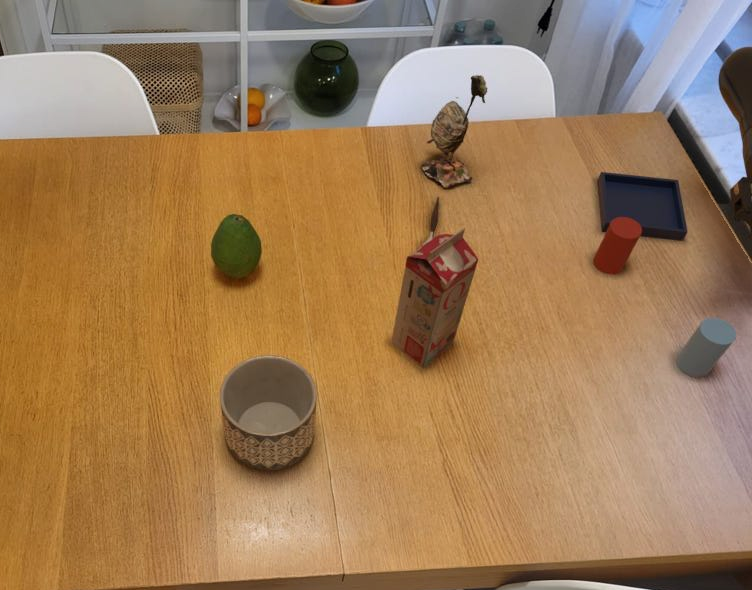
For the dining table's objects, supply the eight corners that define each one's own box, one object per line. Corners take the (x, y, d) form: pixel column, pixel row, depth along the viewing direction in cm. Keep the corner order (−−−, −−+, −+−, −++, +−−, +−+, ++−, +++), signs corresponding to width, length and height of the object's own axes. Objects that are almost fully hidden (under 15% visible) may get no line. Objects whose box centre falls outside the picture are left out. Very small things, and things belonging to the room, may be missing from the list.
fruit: (232, 246, 128) (228, 191, 118) (271, 265, 125) (270, 211, 115) (204, 275, 124) (197, 221, 114) (243, 296, 121) (239, 242, 111)
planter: (211, 415, 108) (205, 374, 100) (291, 385, 111) (292, 342, 103) (245, 488, 102) (241, 449, 93) (329, 454, 104) (333, 414, 96)
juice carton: (452, 344, 115) (483, 240, 97) (423, 368, 113) (449, 266, 94) (420, 319, 118) (444, 214, 100) (391, 342, 115) (410, 238, 97)
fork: (445, 200, 133) (447, 191, 132) (434, 264, 125) (436, 255, 123) (430, 197, 134) (432, 189, 132) (418, 261, 125) (420, 253, 123)
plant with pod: (453, 147, 142) (475, 47, 125) (475, 186, 135) (501, 87, 119) (412, 153, 141) (429, 54, 124) (432, 193, 134) (453, 94, 118)
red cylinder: (622, 254, 125) (640, 218, 119) (624, 275, 122) (643, 240, 116) (592, 251, 126) (609, 215, 119) (593, 272, 123) (611, 236, 116)
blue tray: (673, 188, 134) (678, 179, 132) (682, 240, 127) (687, 232, 125) (597, 180, 136) (600, 171, 134) (601, 231, 128) (605, 222, 127)
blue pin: (707, 353, 113) (733, 320, 107) (712, 379, 111) (739, 346, 104) (674, 349, 114) (698, 315, 107) (677, 374, 111) (702, 341, 105)
